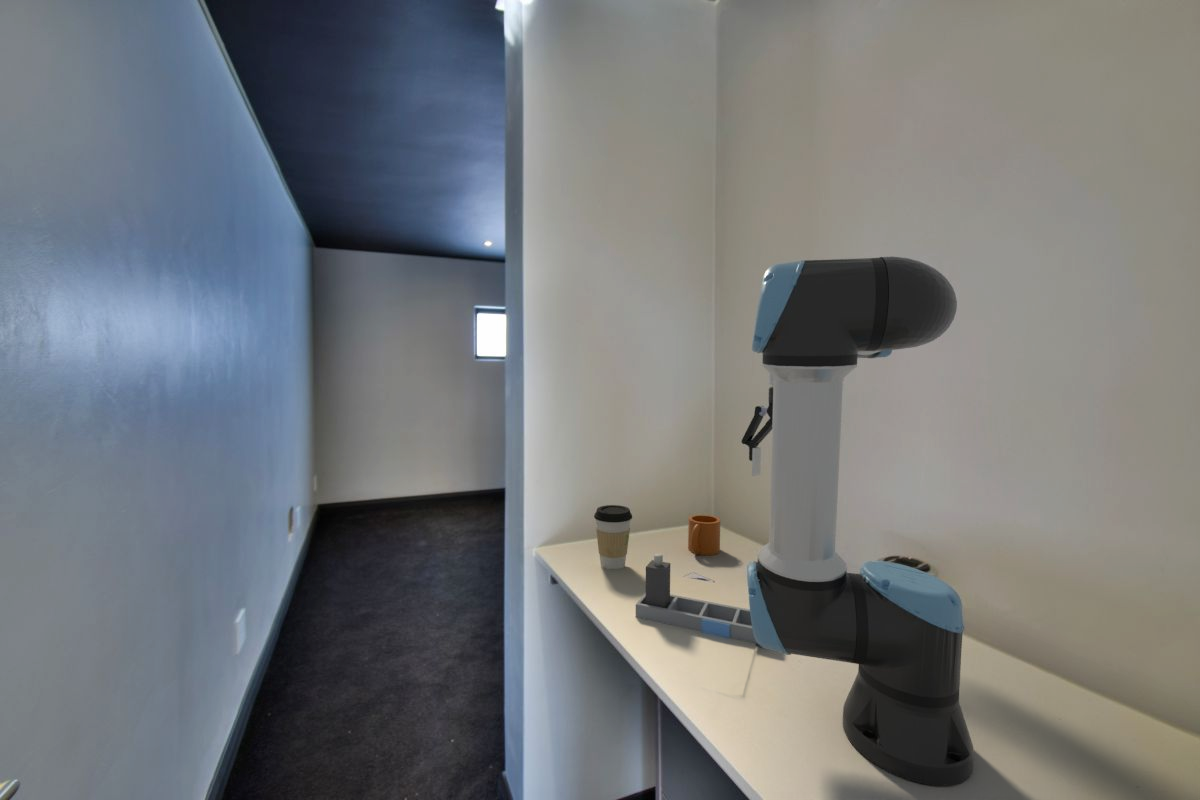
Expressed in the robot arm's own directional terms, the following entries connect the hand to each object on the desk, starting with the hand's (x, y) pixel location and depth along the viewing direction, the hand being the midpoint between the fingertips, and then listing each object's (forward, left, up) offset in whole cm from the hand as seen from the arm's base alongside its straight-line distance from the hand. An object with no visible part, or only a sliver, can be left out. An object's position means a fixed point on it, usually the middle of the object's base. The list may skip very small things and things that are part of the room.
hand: (784, 479), depth 114 cm
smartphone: (-7, +21, -27) cm, 34 cm away
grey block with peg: (-23, +22, -25) cm, 41 cm away
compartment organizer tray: (-23, +13, -26) cm, 37 cm away
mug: (+18, +23, -26) cm, 39 cm away
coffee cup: (-3, +41, -26) cm, 49 cm away
